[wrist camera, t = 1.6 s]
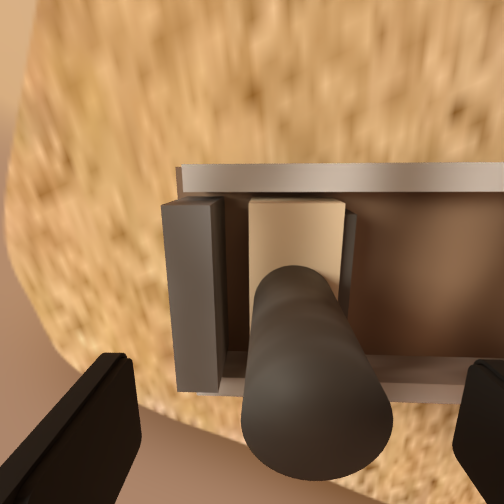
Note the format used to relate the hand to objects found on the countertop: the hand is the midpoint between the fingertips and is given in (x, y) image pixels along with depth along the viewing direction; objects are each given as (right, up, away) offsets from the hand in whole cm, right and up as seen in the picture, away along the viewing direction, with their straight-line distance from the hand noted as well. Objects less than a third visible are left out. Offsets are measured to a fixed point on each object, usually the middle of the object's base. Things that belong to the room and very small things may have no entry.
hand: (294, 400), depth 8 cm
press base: (+7, +3, +10) cm, 12 cm away
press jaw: (+1, +3, +8) cm, 9 cm away
